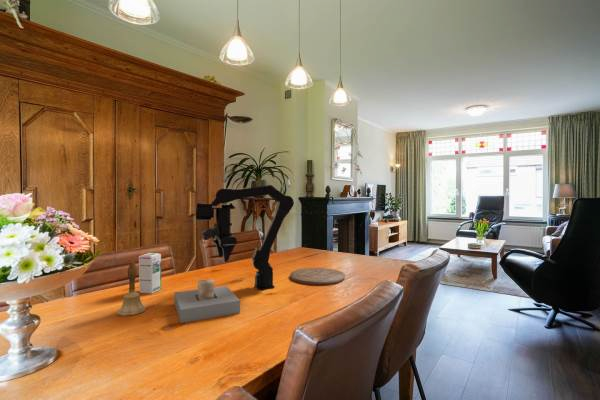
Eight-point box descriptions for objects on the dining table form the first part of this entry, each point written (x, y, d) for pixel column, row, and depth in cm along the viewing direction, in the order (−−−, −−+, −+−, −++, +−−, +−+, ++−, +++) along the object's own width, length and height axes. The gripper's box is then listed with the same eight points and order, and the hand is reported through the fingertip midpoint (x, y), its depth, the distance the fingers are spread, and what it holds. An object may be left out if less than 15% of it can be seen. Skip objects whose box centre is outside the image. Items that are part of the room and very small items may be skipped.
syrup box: (152, 293, 119) (152, 255, 119) (138, 292, 120) (138, 255, 120) (161, 289, 125) (161, 253, 124) (148, 288, 126) (148, 252, 125)
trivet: (353, 276, 148) (353, 272, 148) (329, 289, 127) (329, 285, 127) (308, 269, 161) (308, 265, 161) (279, 280, 140) (279, 276, 140)
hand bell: (126, 306, 106) (126, 259, 106) (150, 306, 106) (150, 259, 106) (111, 315, 98) (110, 264, 98) (137, 316, 98) (137, 265, 97)
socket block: (226, 296, 117) (226, 285, 117) (240, 312, 101) (240, 300, 101) (174, 303, 109) (174, 292, 109) (180, 323, 93) (180, 309, 93)
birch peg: (211, 305, 108) (211, 279, 108) (214, 309, 104) (214, 282, 104) (198, 307, 106) (198, 280, 106) (200, 311, 102) (200, 284, 102)
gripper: (198, 219, 129) (198, 256, 130) (207, 223, 113) (206, 266, 113) (225, 218, 134) (225, 254, 135) (237, 222, 118) (237, 263, 118)
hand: (223, 259), depth 125 cm, fingers open, 9 cm apart
